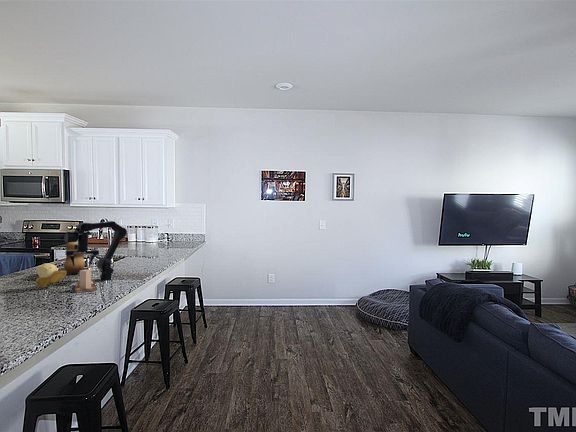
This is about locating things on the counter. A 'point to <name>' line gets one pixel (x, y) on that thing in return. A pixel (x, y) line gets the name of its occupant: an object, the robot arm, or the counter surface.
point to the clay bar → (85, 279)
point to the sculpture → (46, 269)
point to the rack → (92, 289)
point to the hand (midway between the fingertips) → (81, 265)
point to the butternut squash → (78, 260)
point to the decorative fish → (50, 278)
